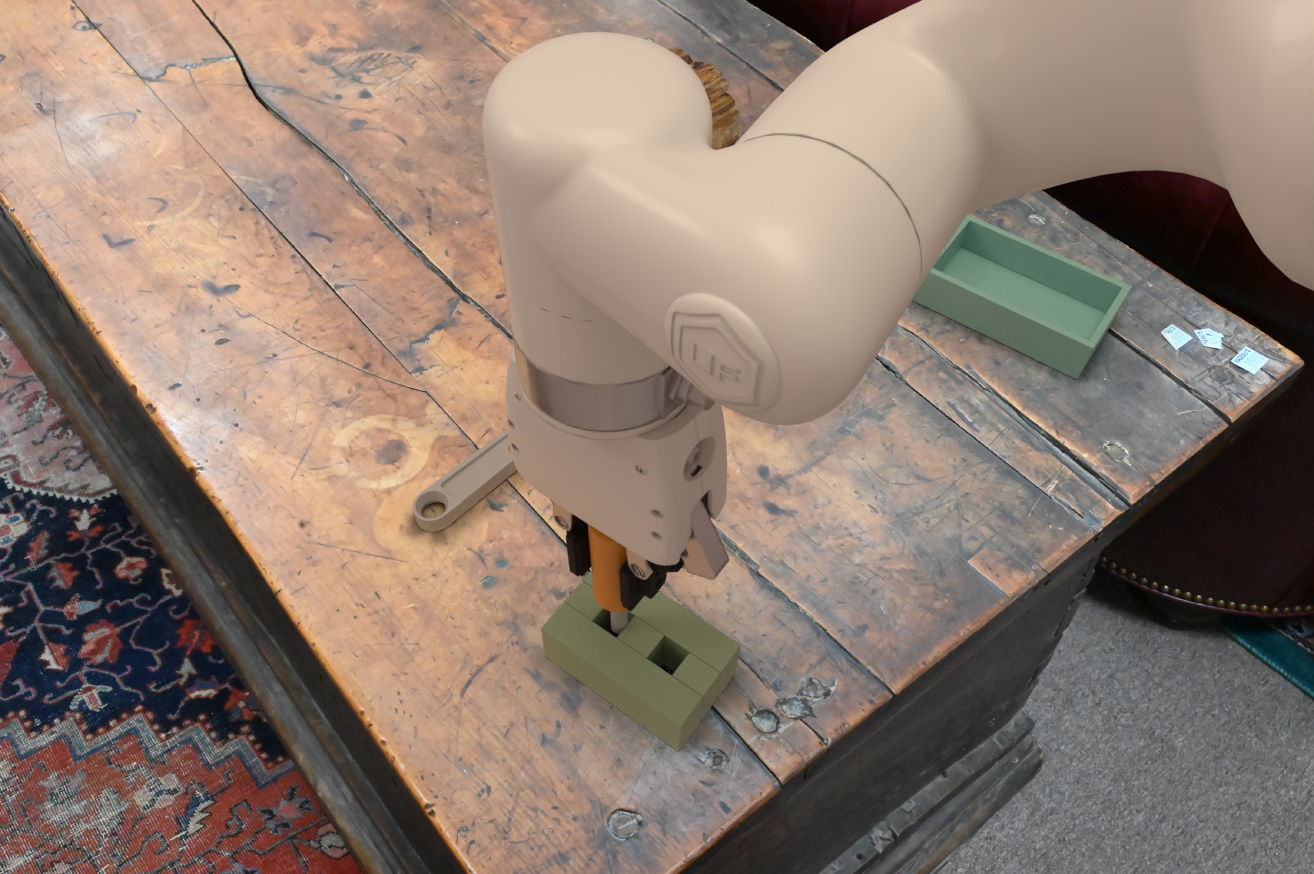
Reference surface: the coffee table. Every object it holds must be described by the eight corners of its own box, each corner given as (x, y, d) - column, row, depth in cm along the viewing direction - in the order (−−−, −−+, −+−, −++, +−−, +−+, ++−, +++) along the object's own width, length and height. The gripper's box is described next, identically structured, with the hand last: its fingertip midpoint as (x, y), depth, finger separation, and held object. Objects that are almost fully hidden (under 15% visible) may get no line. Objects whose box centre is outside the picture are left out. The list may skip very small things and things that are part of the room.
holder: (605, 586, 66) (604, 555, 63) (735, 672, 63) (741, 644, 60) (544, 656, 63) (540, 627, 60) (678, 752, 60) (681, 726, 56)
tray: (955, 246, 87) (966, 213, 84) (1115, 318, 82) (1132, 286, 79) (911, 300, 83) (921, 268, 80) (1076, 380, 78) (1093, 348, 75)
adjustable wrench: (432, 541, 68) (428, 527, 67) (379, 483, 71) (374, 468, 70) (700, 356, 78) (701, 341, 77) (645, 311, 81) (645, 296, 80)
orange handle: (652, 622, 61) (653, 513, 52) (623, 656, 60) (620, 551, 50) (615, 597, 62) (609, 486, 53) (586, 631, 61) (576, 523, 51)
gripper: (827, 379, 40) (778, 601, 55) (515, 218, 46) (546, 458, 60) (722, 506, 36) (700, 708, 51) (397, 314, 42) (461, 545, 57)
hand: (617, 571), depth 56 cm, fingers closed on orange handle, 2 cm apart
